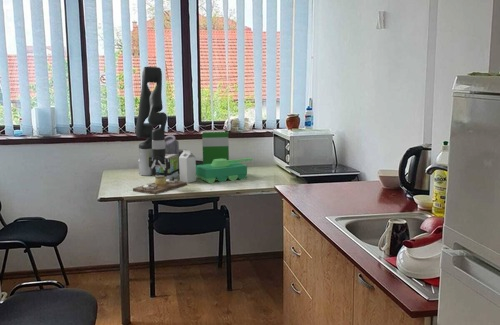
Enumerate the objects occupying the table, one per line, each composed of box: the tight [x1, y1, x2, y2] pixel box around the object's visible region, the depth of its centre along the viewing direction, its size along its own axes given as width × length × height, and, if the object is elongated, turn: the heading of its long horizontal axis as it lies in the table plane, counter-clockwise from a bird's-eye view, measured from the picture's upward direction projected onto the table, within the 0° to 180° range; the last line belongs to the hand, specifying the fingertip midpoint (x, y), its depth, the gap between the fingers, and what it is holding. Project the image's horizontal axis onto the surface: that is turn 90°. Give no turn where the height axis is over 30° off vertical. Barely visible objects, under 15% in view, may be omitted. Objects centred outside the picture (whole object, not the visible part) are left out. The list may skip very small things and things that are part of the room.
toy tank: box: [196, 157, 253, 184], centre depth 330 cm, size 18×12×35 cm
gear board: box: [132, 177, 188, 195], centre depth 306 cm, size 16×28×6 cm, turn 148°
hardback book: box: [201, 131, 230, 165], centre depth 367 cm, size 18×7×24 cm, turn 92°
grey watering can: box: [165, 134, 184, 175], centre depth 355 cm, size 30×16×24 cm, turn 161°
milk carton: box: [179, 149, 197, 184], centre depth 321 cm, size 7×7×19 cm
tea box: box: [154, 154, 179, 180], centre depth 331 cm, size 15×10×15 cm
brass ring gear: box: [154, 177, 166, 186], centre depth 305 cm, size 6×6×4 cm
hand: (159, 175), depth 305 cm, fingers open, 8 cm apart
